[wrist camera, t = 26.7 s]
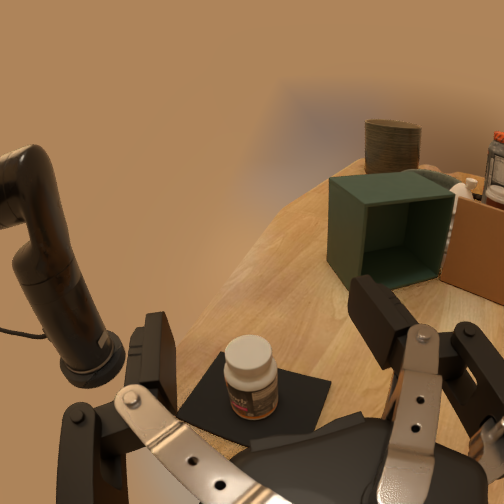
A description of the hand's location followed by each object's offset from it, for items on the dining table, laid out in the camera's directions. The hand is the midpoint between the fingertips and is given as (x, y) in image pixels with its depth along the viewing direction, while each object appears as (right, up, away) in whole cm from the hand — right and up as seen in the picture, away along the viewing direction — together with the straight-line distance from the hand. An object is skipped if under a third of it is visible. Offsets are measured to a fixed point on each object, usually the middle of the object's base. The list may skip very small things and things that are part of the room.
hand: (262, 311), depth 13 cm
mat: (0, -16, +22) cm, 27 cm away
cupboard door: (+44, -5, +34) cm, 56 cm away
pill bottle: (0, -16, +22) cm, 27 cm away
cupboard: (+25, -1, +44) cm, 51 cm away
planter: (+54, +33, +97) cm, 115 cm away
